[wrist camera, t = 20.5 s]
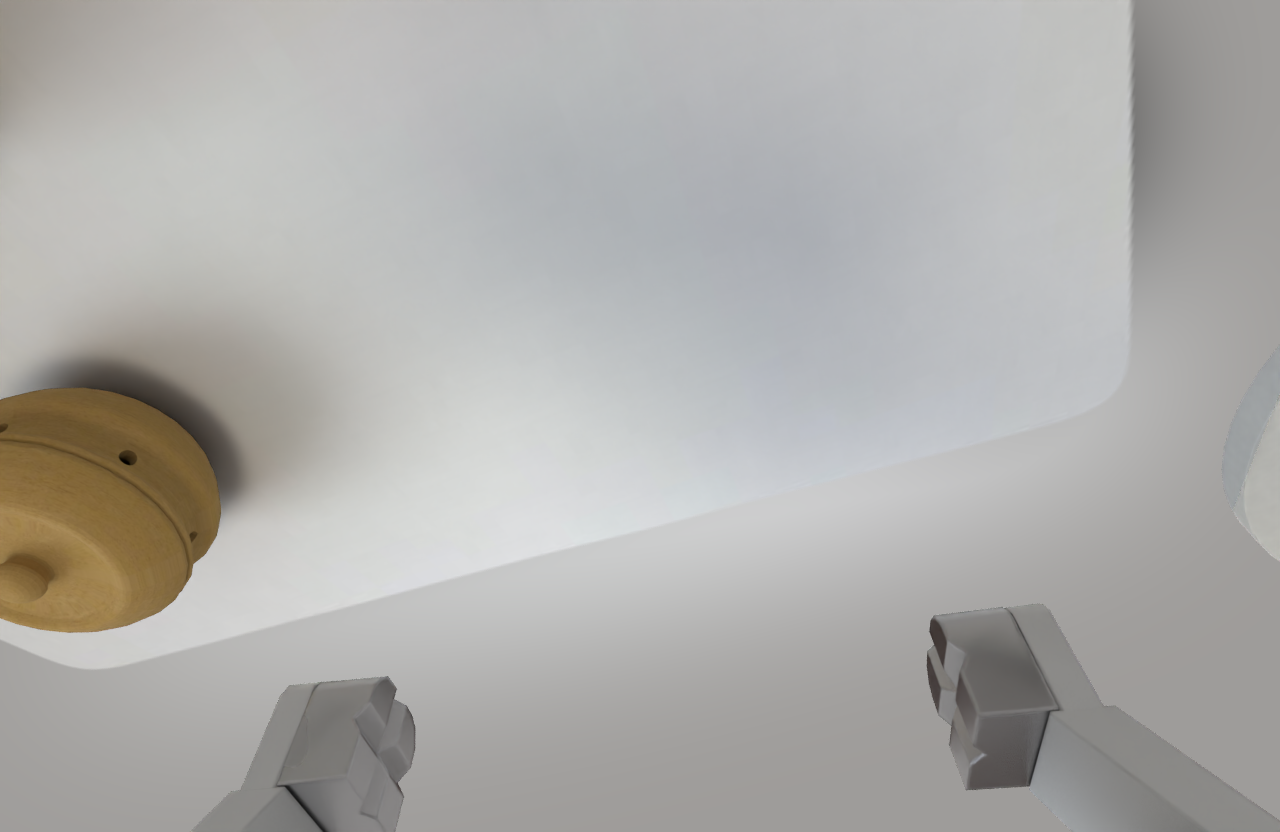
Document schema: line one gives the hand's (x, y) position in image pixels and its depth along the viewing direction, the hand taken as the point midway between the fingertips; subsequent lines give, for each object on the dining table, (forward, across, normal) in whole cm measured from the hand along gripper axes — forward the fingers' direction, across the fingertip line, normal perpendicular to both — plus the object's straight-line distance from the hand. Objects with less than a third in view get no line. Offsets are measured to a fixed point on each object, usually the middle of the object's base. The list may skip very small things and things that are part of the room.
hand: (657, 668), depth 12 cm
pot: (+25, +29, +11) cm, 40 cm away
